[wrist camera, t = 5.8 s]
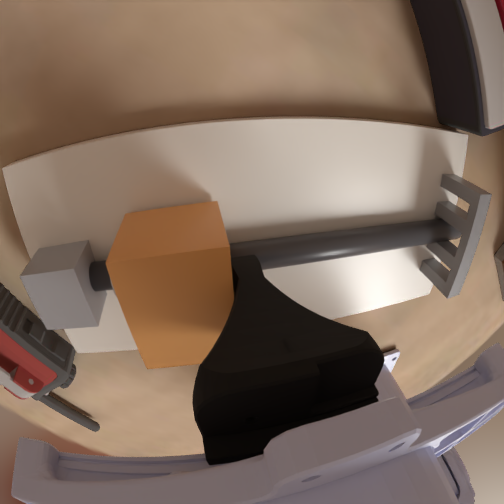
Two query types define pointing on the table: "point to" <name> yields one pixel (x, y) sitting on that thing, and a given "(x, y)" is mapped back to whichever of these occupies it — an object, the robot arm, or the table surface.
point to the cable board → (254, 212)
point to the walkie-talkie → (35, 358)
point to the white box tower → (500, 267)
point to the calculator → (465, 61)
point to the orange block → (173, 281)
